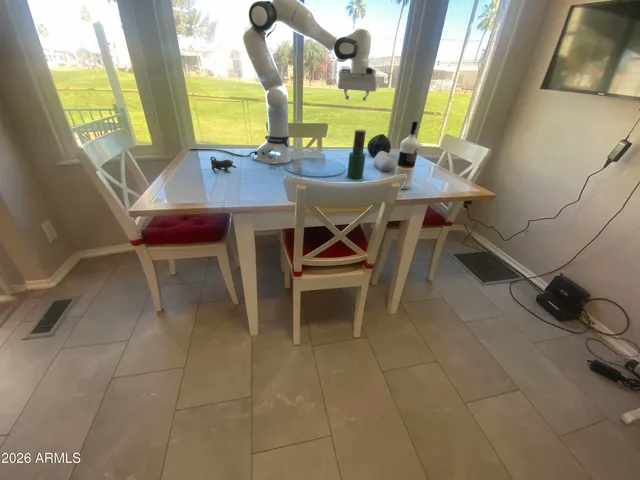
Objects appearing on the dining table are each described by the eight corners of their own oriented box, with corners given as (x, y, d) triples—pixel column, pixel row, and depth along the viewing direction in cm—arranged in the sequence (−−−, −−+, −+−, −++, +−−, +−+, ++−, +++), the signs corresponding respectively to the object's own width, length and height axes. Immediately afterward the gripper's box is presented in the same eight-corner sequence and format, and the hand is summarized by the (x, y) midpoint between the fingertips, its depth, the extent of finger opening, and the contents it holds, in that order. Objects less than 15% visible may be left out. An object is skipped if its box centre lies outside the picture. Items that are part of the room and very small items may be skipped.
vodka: (400, 182, 140) (413, 119, 124) (414, 188, 133) (430, 122, 117) (387, 184, 135) (399, 120, 119) (401, 191, 129) (416, 123, 113)
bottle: (345, 178, 141) (348, 146, 132) (348, 173, 147) (352, 143, 138) (360, 180, 139) (365, 148, 130) (363, 175, 145) (367, 145, 137)
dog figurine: (210, 173, 138) (208, 158, 134) (213, 169, 143) (211, 155, 139) (235, 173, 139) (233, 158, 135) (237, 169, 144) (235, 155, 140)
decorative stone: (369, 159, 163) (380, 145, 158) (380, 168, 167) (392, 155, 163) (377, 170, 149) (390, 156, 145) (389, 180, 153) (402, 166, 149)
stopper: (351, 154, 135) (354, 130, 129) (353, 151, 139) (356, 128, 133) (361, 155, 134) (364, 132, 128) (363, 153, 138) (366, 130, 132)
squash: (375, 142, 188) (372, 127, 175) (395, 147, 181) (393, 132, 168) (366, 159, 186) (361, 145, 173) (386, 165, 179) (383, 150, 166)
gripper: (337, 68, 137) (335, 98, 144) (378, 70, 132) (373, 102, 140) (340, 68, 142) (338, 98, 149) (379, 70, 137) (375, 101, 145)
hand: (355, 100), depth 144 cm, fingers open, 8 cm apart
